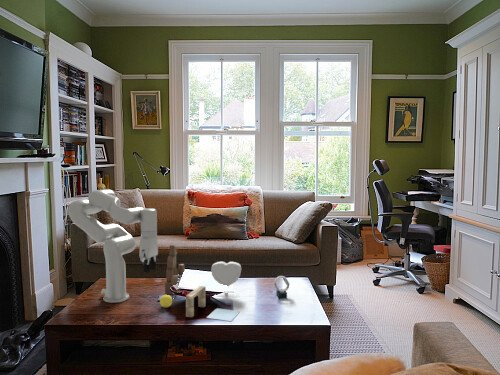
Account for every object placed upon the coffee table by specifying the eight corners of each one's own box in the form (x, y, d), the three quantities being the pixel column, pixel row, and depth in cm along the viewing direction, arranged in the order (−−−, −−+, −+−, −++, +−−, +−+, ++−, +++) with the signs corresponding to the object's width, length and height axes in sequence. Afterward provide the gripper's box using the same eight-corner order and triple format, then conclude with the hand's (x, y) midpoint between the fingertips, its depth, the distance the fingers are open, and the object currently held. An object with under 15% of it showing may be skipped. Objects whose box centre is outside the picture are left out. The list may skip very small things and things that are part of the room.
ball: (157, 308, 193) (157, 296, 192) (163, 304, 198) (163, 292, 198) (168, 310, 191) (168, 297, 190) (174, 305, 196) (174, 293, 196)
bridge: (186, 316, 183) (185, 295, 182) (200, 305, 197) (199, 285, 196) (191, 317, 182) (191, 296, 181) (205, 305, 196) (205, 286, 196)
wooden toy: (177, 295, 212) (176, 248, 210) (164, 294, 213) (164, 248, 211) (185, 285, 227) (185, 242, 225) (173, 285, 228) (173, 242, 226)
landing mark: (206, 318, 181) (206, 317, 181) (216, 308, 193) (216, 308, 193) (231, 321, 178) (231, 321, 178) (240, 311, 189) (240, 311, 189)
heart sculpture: (211, 297, 208) (210, 263, 207) (212, 294, 213) (212, 261, 212) (240, 297, 208) (240, 263, 207) (241, 294, 213) (241, 261, 212)
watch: (290, 298, 207) (290, 277, 207) (275, 299, 206) (275, 278, 205) (287, 294, 213) (288, 274, 212) (273, 295, 212) (273, 275, 211)
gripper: (151, 230, 204) (152, 265, 205) (132, 236, 188) (132, 274, 189) (164, 231, 202) (165, 267, 203) (146, 237, 186) (146, 276, 187)
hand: (149, 270), depth 196 cm, fingers open, 4 cm apart
